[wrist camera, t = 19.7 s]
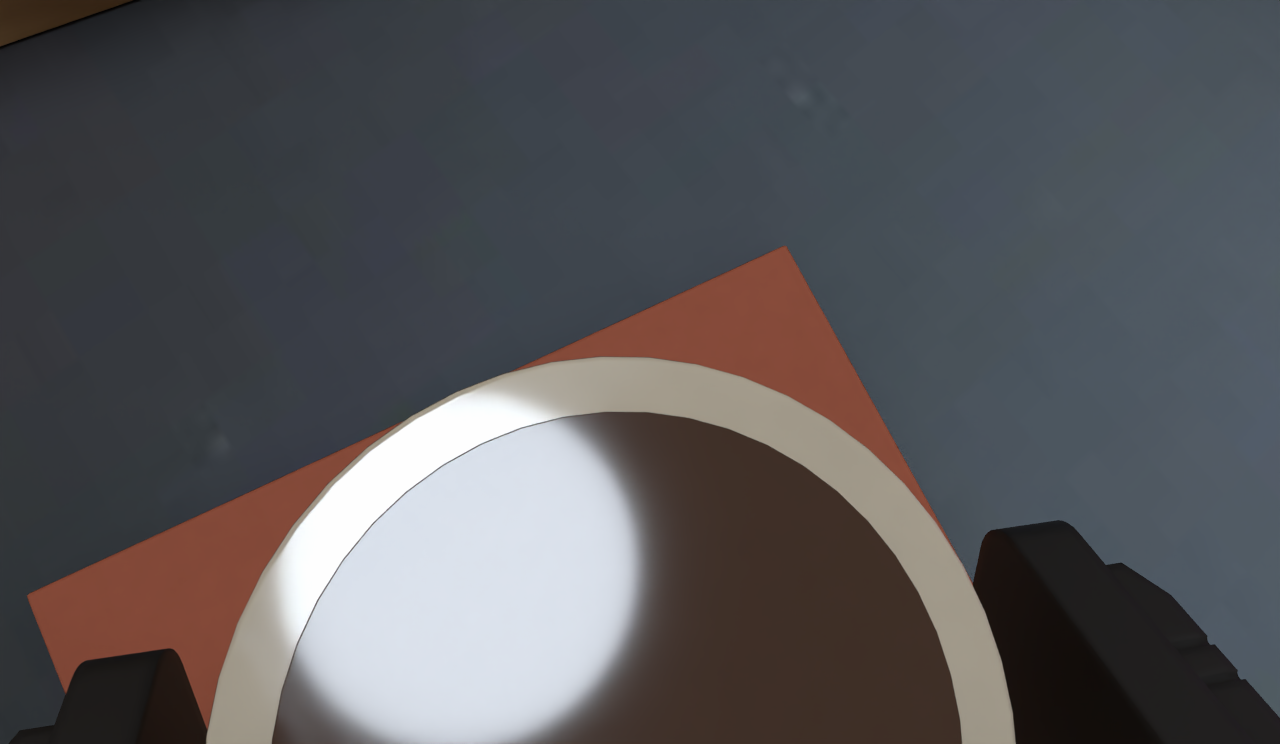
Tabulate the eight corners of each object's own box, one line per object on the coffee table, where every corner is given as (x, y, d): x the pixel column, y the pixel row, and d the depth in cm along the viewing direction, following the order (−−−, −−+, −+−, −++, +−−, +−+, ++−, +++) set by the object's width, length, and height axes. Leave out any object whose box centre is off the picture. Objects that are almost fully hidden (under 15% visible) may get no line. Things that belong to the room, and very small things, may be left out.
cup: (473, 975, 15) (420, 1447, 7) (303, 591, 16) (64, 567, 8) (828, 765, 17) (1170, 931, 8) (652, 422, 18) (786, 236, 9)
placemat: (286, 1218, 15) (279, 1237, 14) (39, 594, 16) (24, 594, 16) (1049, 743, 18) (1064, 746, 17) (779, 253, 19) (786, 243, 19)
